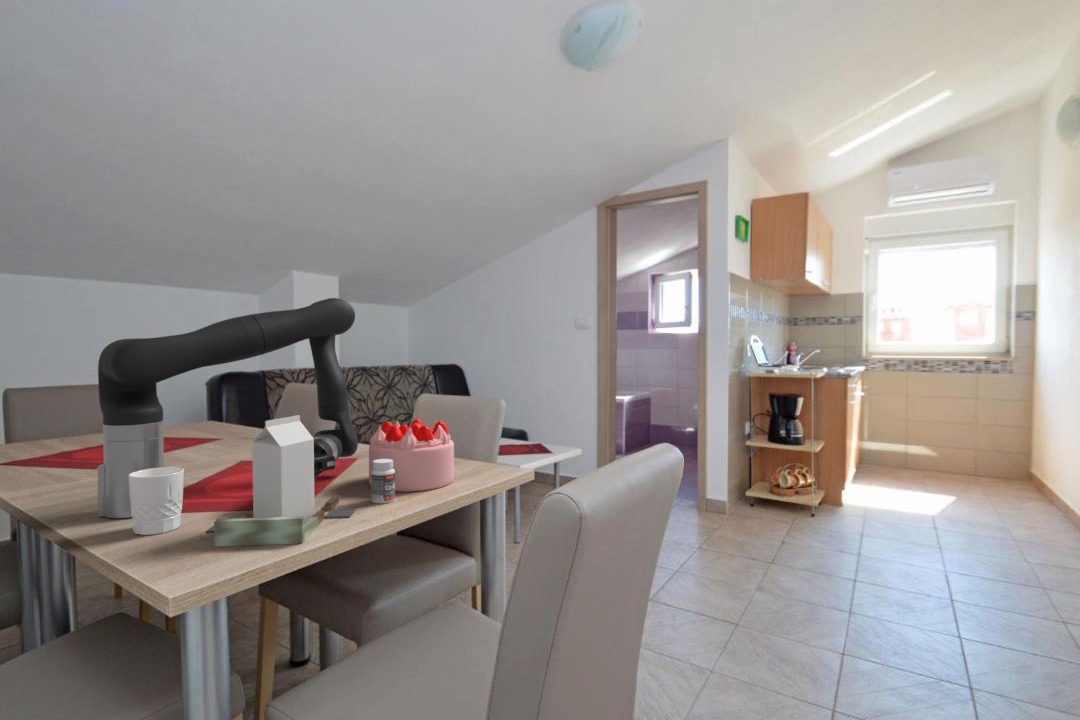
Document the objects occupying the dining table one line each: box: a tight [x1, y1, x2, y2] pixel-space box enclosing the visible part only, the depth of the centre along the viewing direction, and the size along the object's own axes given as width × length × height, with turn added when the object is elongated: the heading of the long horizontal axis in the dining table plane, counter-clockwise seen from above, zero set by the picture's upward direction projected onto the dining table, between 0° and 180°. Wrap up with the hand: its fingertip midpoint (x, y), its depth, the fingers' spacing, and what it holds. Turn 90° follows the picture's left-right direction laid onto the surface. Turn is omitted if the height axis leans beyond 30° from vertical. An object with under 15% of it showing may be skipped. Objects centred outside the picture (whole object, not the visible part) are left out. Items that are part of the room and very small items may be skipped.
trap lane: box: [213, 494, 340, 547], centre depth 98 cm, size 13×24×4 cm, turn 7°
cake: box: [368, 418, 455, 493], centre depth 129 cm, size 20×20×14 cm
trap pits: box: [205, 507, 356, 534], centre depth 99 cm, size 25×6×1 cm, turn 115°
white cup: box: [129, 466, 185, 536], centre depth 94 cm, size 8×8×10 cm
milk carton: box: [251, 414, 316, 523], centre depth 96 cm, size 7×7×19 cm
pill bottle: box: [370, 459, 396, 504], centre depth 112 cm, size 5×5×8 cm
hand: (289, 472), depth 101 cm, fingers closed
